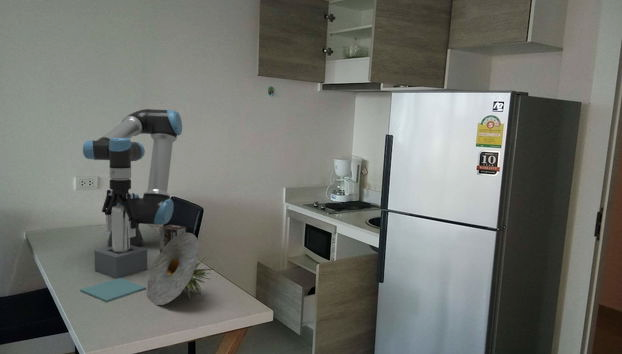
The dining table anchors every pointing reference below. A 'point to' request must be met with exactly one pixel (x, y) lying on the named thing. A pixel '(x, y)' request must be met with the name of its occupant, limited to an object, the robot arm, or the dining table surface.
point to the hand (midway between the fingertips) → (120, 234)
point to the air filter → (120, 230)
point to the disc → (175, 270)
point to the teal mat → (112, 289)
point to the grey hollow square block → (120, 261)
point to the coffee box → (170, 234)
